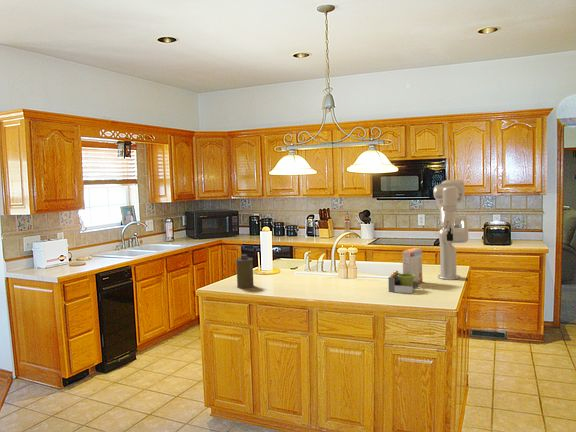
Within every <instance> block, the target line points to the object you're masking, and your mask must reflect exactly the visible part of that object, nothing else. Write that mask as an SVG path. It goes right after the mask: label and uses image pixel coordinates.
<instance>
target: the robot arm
mask: <svg viewBox="0 0 576 432" xmlns="http://www.w3.org/2000/svg"><path fill="white" fill-rule="evenodd" d="M465 189H466V186H465V182H464V181H463V180H462V179H446V180H445V179H444V180H442V181H441V183H440V184H435V186H434V187H433V192H432V193H433V197H434V199H435V202H436V206H437V208H438V210H439V214H440V215H439V217H440V218H439V219H440V226H441V228H440V230H439V231H438V240H439V249H440V251H439V252H440V253H439V255H440V256H439V257H440V261H439V262H440V263H439V264H440V265H439V267H440V268H439V269H440V274H438V275H437V278H438V279H440V280H448V281H449V280H451V281H452V280H458V279H460V276H459V274H457V249H456V248H455V246H454V245H453V244H466V243H467V242H468V241H469V229H468V228H469V227H468V219H467V217H466V216H465V215H464V214H456V213H455V212H457V207H458V206H457V204H461V203H463V202H464V200H465V193H466V192H465Z"/></svg>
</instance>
